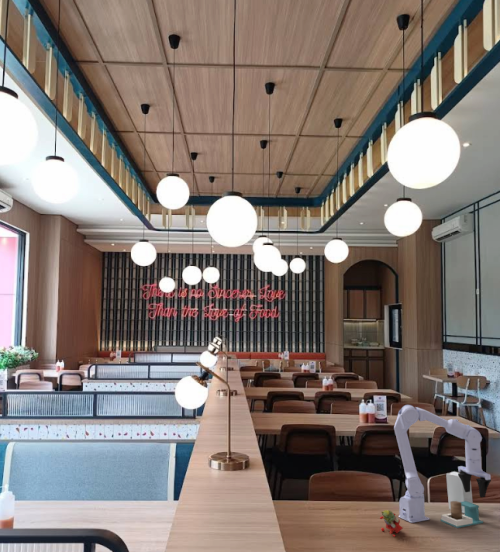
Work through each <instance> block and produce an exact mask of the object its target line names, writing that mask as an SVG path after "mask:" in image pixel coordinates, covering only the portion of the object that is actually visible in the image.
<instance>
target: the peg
mask: <svg viewBox="0 0 500 552" xmlns="http://www.w3.org/2000/svg"><path fill="white" fill-rule="evenodd" d="M450 504H451V509H450V513H451V518H453V519H456V520H459V519H462V515H463V513H462V506H461V502H458V501H451V502H450Z"/></svg>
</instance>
